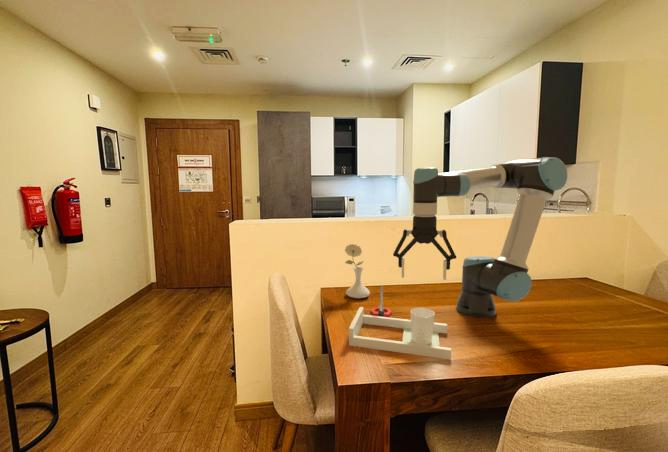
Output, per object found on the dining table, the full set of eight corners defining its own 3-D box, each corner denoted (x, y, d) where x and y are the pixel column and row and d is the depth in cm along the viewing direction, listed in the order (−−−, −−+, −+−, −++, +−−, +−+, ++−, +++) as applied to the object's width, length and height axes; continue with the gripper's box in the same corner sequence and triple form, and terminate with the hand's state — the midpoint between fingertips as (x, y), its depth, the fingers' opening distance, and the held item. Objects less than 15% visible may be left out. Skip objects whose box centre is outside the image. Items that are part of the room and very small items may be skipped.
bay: (446, 331, 116) (447, 316, 115) (450, 359, 97) (451, 341, 97) (359, 321, 124) (359, 306, 123) (348, 345, 106) (348, 328, 105)
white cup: (406, 335, 112) (407, 308, 111) (428, 334, 113) (429, 307, 112) (414, 346, 105) (415, 317, 103) (437, 345, 105) (438, 316, 104)
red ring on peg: (371, 309, 138) (370, 317, 128) (372, 279, 136) (371, 285, 127) (391, 310, 136) (391, 318, 127) (391, 280, 135) (392, 286, 126)
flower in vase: (374, 294, 154) (374, 243, 150) (363, 302, 144) (363, 248, 141) (350, 290, 160) (350, 241, 157) (338, 296, 151) (338, 244, 148)
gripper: (463, 214, 106) (461, 276, 109) (387, 213, 112) (387, 272, 115) (467, 217, 99) (464, 283, 102) (385, 216, 105) (385, 278, 108)
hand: (423, 277), depth 108 cm, fingers open, 13 cm apart
